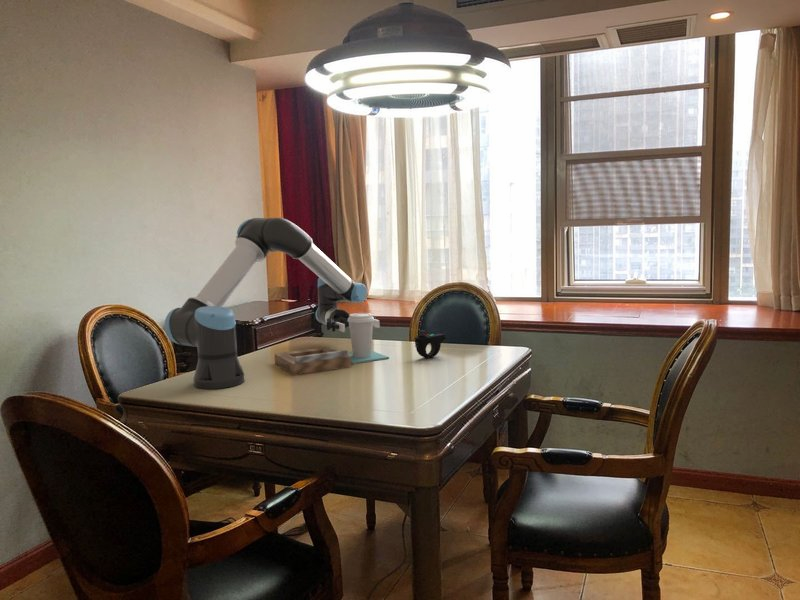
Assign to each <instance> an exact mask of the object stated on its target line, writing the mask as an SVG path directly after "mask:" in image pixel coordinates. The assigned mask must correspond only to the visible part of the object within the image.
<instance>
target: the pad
mask: <svg viewBox="0 0 800 600" xmlns="http://www.w3.org/2000/svg"><path fill="white" fill-rule="evenodd" d="M348 355H349V356H351V365H355V364H354V363H357V364H361V363H360V362H363V363H368V362H369V361H370V362H375V361H382V360H384V361H385V360H389V359H390V356H387V355H385V354H382V353H380V352H376V351H374V350H371V356H370V357H367V358H355V357H353V352H352V353H351V352H350V353H348Z"/></svg>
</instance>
